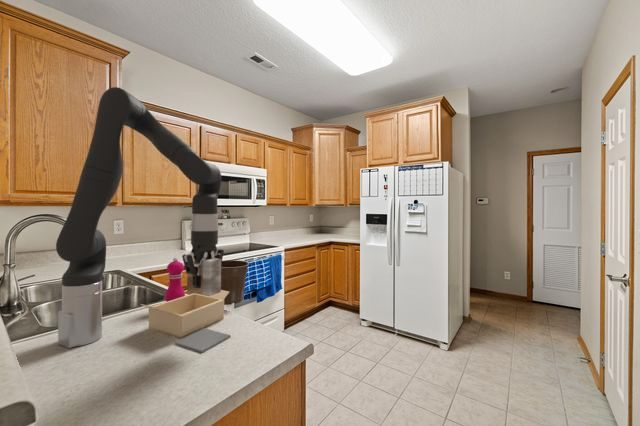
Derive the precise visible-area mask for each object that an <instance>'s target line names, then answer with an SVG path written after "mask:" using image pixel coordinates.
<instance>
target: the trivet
mask: <svg viewBox="0 0 640 426" xmlns="http://www.w3.org/2000/svg"><path fill="white" fill-rule="evenodd" d="M230 338H231V334H227V333H223V332H221V331H217V330H213V329H209V328H206V327H205V328H203V329H200V330H198V331H196V332H194V333H192V334H190V335H188V336H185V337H183V338H181V339H178V340H176V341H175V342H174V345H177V346H180V347H182V348H185V349H189V350H193V351H195V352H198V353H201V354H203V353H205V352H207V351H209V350H210V349H212V348H214V347H215V346H218V345H220V344H221V343H223V342H225V341H226V340H228V339H230Z"/></svg>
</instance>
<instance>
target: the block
mask: <svg viewBox="0 0 640 426" xmlns="http://www.w3.org/2000/svg"><path fill="white" fill-rule="evenodd" d="M195 263H196V264H200V263H199V262H196V261H195ZM197 268H198V267H196V271H197ZM186 274H187V273H186ZM200 275H201V287H200V288H194V286H193V285H192V284H193V276H192V275H191V274H187V277H186V278H187V282H186V283H187V284H186V291H187V292H188V293H191V294H194V293H197V294H201V295H206V296H211V295H214V294H217V293H219V292H221V259H217V258H212V259H211V258H210V259H206V260H202V268H201V274H200Z"/></svg>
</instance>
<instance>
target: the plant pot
mask: <svg viewBox="0 0 640 426" xmlns="http://www.w3.org/2000/svg"><path fill="white" fill-rule="evenodd" d="M249 265H250V263H249V262H248V261H246V260H245V261H243V260H236V259H235V260H234V259H232V260H231V259H229V260H227V259H226V260H222V262H221V290H224V291H229V293H228V295H227V296H226V297H225V299H224V306H232V304H234V305H235V304H236V305H237V304H239V303H242V302H243V300H244V295H245V294H244V293H245V286H246V278H247V273H248V267H249Z"/></svg>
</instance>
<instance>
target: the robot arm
mask: <svg viewBox="0 0 640 426" xmlns="http://www.w3.org/2000/svg"><path fill="white" fill-rule="evenodd" d="M124 126H125V127H128V128H130V129H132V130H133V131H135V132H137V133H139V134H141V135H142V136H143V137H145V138H146V139H147V140H149V142H150V143H151V144H152V145H153V146H154V148H155V149H157V151H158V152H159V153H160V154H161V155H163V157H165V158H166V159H167V160H168V161H170V162H171V163H172V164H173V165H175V166H176V167H177V168H178V169H179V170H180V171H181V172H182V174H183V175H184V176H185V177H186V178H187V179H189V181H191V182H192V183H194V184H195V185H198V191H197V193H196V194H195V195H194V196H193V197H192V201H191V202H192V203H191V204H192V205H191V219H190V245H191V246H192V249H191V251H190V253H187V254H185V253H184V254H183V255H181V256H182V257H181V258H182V263H183V265H184V269H185V273H186V274H191V275H192V276H193V284H192V285H193V286H194V288H200V287H201V275H200V274H201V268H202V260H206V259H210V258H211V259H212V258H217V259H221V262H222V261H223V257H224V253H225V252H224V251H225V250H224V249H222V248H221V249H220V248H217V245H218V243H219V218H218V198H219V194H220V190H221V186H222V173H221V170H220V168H219V167H218V166H217V165H215V164H213V163H211V162H208V161H205V160H204V159H203V158H201V157H200V156H199V155H198V154H197V153H196V151H195V150H194V149H193V148H192V147H191V146H190V145H189V144H188V143H187V142H185V141H184V140H183V139H182V138H181V137H179V136H178V135H176V134H175V133H173V132H172V131H171V130H169V129H168V128H167V127H165V126H164V125H163V124H162V123H161V122H160V121H159V120H158V119H156V118H155V116H154V114H152V113H151V111H149V109H148V108H147V107H146V106H145V105H144V103H143V102H142V101H141V100H139V99H138V98H136V97H135V95H132V94H131V93H129V92H128V91H126V90H125V89H123V88H121V87H119V86H117V87H116V86H114V87H109V88H108V89H107V90H105V91H104V92H103V93H102V95H101V97H100V100H99V103H98V107H97V113H96V118H95V125H94V129H93V134H92V138H91V142H90V144H89V149H88V153H87V155H86V158H85V161H84V164H83V167H82V170H81V174H80V177H79V180H78V184H77V187H76V190H75V193H74V197H73V199H72V200H73V201H72V203H71V206H70V207H71V208H70V210H69V212H68V214H67V217H66V219H65V222H64V224H63V227H62V228H61V231H60V233H59V235H58V238H57V239H56V242H55V243H56V244H55V249H56V253H57V255H58V256H59V258H61V259H62V260H63V261H66V262H68V263H69V264H68V267H67V269H66V270H65V272H64V273H63V274H62V276H61V310H59V311H58V312H57V318H58V319H57V320H58V321H57V322H58V323H57V324H58V326H57V329H58V331H57V334H58V335H57V344H58V345H60V346H63V347H65V348H67V349H72V348H75V347H80V346H85V345H89V344H91V343H94V342H96V341H98V340H99V339H101V338H102V336H103V274H104V271H105V269H106V259H107V258H106V257H107V241H106V237H105V235H104V234H103V233H102V231H101V230H99V229H97V228H98V225H99V222H100V218H101V216H102V214H103V213H104V211H105V209H106V208H107V206H108V205H109V203H110V202H111V201H112V199H113V198H114V196H115V195H116V193H117V191H118V188H119V186H120V183H121V180H122V175H123V172H124V160H123V156H122V155H123V154H122V148H121V136H122V135H121V134H122V130H123V129H124ZM195 261H196V262H199V263H200V264H196V263H195ZM196 267H198V268H197V271H196Z"/></svg>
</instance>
